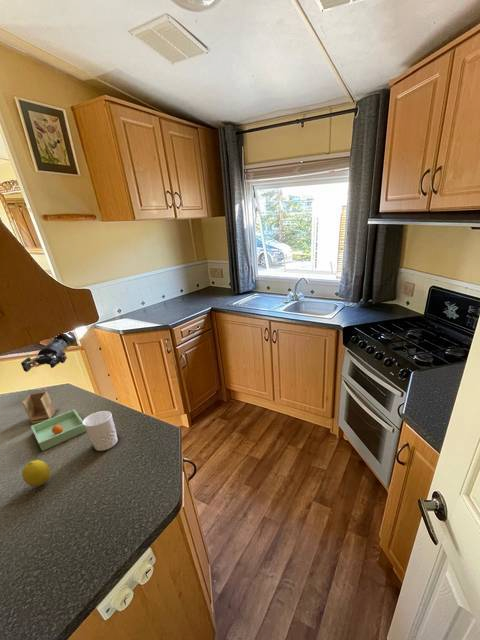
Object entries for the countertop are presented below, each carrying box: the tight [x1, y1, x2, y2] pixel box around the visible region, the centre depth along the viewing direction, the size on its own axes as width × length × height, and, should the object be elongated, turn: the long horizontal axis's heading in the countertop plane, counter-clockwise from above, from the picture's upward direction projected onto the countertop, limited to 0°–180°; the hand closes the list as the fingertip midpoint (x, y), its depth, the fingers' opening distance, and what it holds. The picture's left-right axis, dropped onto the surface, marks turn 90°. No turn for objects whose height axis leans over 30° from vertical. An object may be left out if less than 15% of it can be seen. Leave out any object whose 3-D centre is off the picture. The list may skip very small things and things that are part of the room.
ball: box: [52, 425, 63, 434], centre depth 98 cm, size 3×3×3 cm
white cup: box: [82, 410, 119, 452], centre depth 91 cm, size 8×8×10 cm
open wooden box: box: [22, 391, 57, 425], centre depth 107 cm, size 6×6×9 cm
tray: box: [30, 409, 87, 452], centre depth 99 cm, size 13×13×3 cm
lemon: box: [21, 459, 51, 487], centre depth 77 cm, size 6×6×8 cm
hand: (38, 367), depth 112 cm, fingers open, 8 cm apart
